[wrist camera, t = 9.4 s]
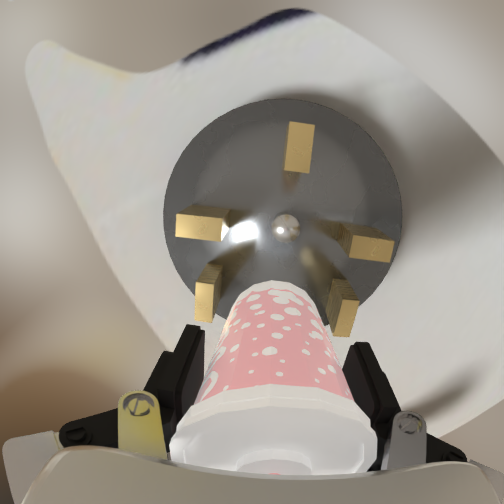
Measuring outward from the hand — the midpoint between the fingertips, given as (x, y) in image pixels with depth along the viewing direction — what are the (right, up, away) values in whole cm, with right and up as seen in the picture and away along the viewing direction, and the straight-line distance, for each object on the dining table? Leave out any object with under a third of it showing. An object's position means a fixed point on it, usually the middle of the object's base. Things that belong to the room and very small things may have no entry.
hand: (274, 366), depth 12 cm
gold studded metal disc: (+1, +7, +7) cm, 10 cm away
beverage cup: (0, +1, +4) cm, 4 cm away
